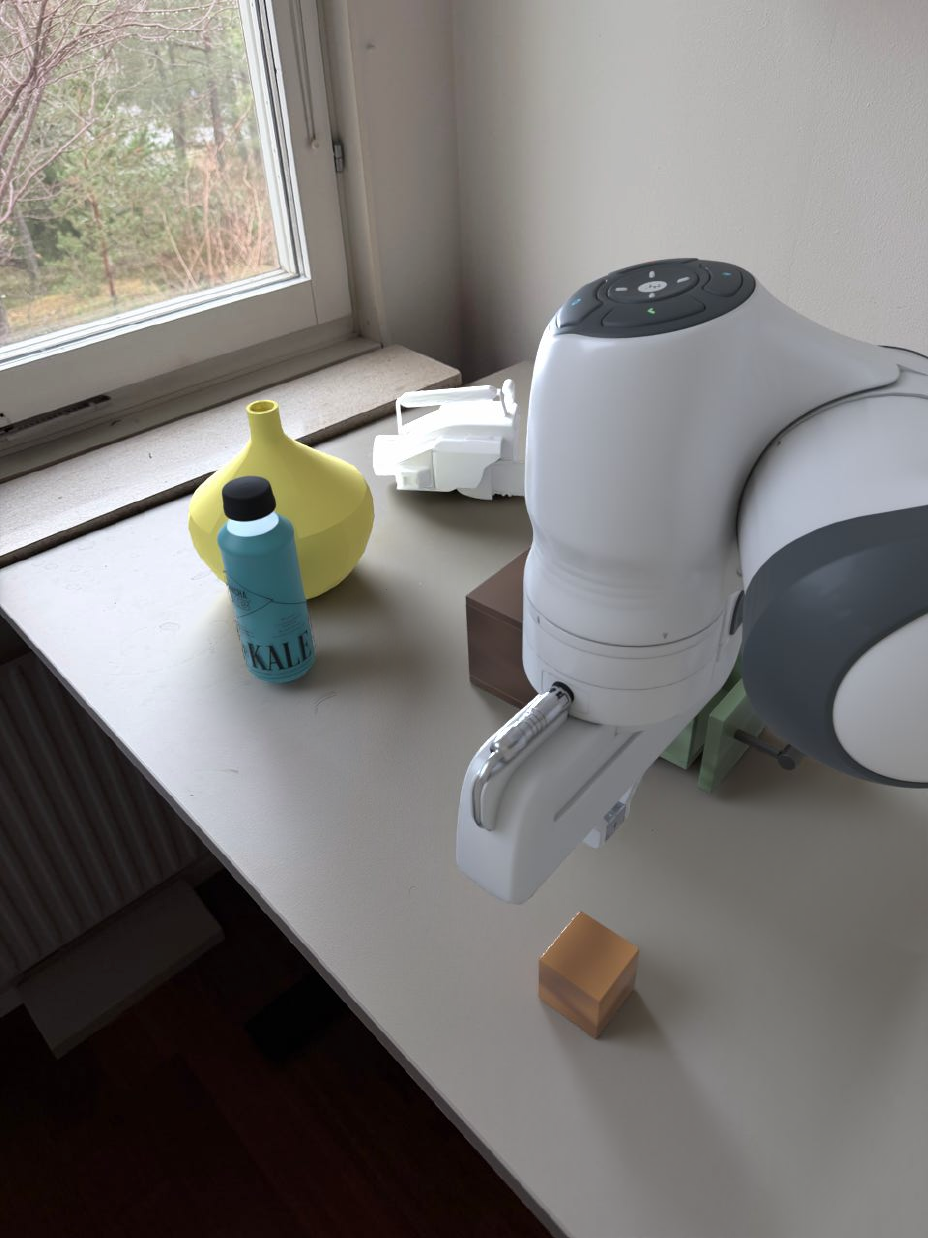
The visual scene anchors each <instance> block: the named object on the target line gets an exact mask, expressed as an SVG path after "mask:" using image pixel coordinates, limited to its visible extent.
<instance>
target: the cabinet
mask: <svg viewBox="0 0 928 1238" xmlns="http://www.w3.org/2000/svg"><path fill="white" fill-rule="evenodd" d="M531 546H532V545H530V546H529V547H528V548H526V549H524V550H523V551H522V552H521V553H519V554H518V555H516V557H514V558H513V559H512V560H510V561H509V562H508V563H506V564H505V565H504V566H502V567H500V568H499V570H497V571H496V572H494V573H493V574H491V576H489V577H488V578H487V579H485V580H484V581H483V582H481V583H480V584H478V585H477V586H476V587H474V588H473V589H472V590H470V591H469V592H468V593H467V594H466V595H465V598H464V599H465V619H466V639H467V660H468V675H469V676H468V677H469V678H468V679H469V683H471V684H472V685H474V686H476V687H478V688H480V689H482V690H483V691H485V692H488V693H489V694H491V695H493V696H495V697H497V698H499V699H501V700H502V701H504V702H506V703H508V704H510V705H512V706H513V707H515V708H517V709H520V711H521V710H522V709H523V708H524V707H525V706H526V705H527V704H528V703H529V702H531V701H532V700H533V699H534V698H535V697H536V696H537V695H538V694H539V693H538V692H537V691H536V690H535V689H534V687H533V686H532V685H531V683H530V681H529V680H528V678H527V675H526V673H525V670H524V666H523V596H524V593H523V581H524V568H525V563H526V560H527V556H528V554H529V551H530V549H531Z"/></svg>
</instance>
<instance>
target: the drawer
mask: <svg viewBox="0 0 928 1238" xmlns="http://www.w3.org/2000/svg"><path fill="white" fill-rule="evenodd" d="M741 664H742V642H741V646H740V649H739V652H738V656H737V659H736V662H735V664H734V667H733V669H732V671H731V673H730V675H729V676H728V678H727V680H726V682H725V683H724V685H723V686H722V688H721V689H720V690H719V691H718V692H717V693H716V694H715V695H714V696H713V698H712V699H711V700H710V701H709V702H708V703H707V704H706V705H705V706H704V707H703V709H702V710H701V711H700V712H699V713H698V714H697V715H696V716H695V717H694V718H693V720H692V721H691V722H690V723H689V724H688V725H687V726H686V727H685V728H684V729H683V731H682V732H681V733H680V734H679V735H678V736H677V737H676V738H675V739H674V740H673V742H672V743H671V744H670V745H669V746H668V747H667V748H666V749H665V750H664V751H663V753H662V754H661V755H660V756H659V757H660V758H662V759H664V760H666V761H668V762H670V763H672V764H674V765H675V766H678V767H680V768H681V769H684V770H686V771H687V770H688V769H689V767H690V766H691V765H692V764H693V763H694V762H695V760H696V759H697V758H698V757H699V756H700V755H701V753H702V756H701V757H702V758H701V763H700V764H701V765H700V768H699V769H700V770H699V775H698V780H697V786H696V787H697V789H699V790H701V791H702V792H705V793H707V794H708V795H712V794H713V793H714V792H715V790H716V789H717V787H718V786H719V785H720V783H721V782H722V781H723V780H724V779H725V778H726V777H727V775H728V774H729V773H730V772H731V770H732V769H733V768H734V766H735V765H736V764H737V762H738V761H739V760H740V759H741V758H742V757H743V755H744V754H745V752H746V751H747V750H748V749H749V748H750V747H751V748H753V749H755V750H757V751H759V752H761V753H763V754H765V755H767V756H770V757H772V758H774V759H776V762H777V764H778V766H779V767H781V769H784V770H786V771H793V770H794V769H796V767H797V766H798V764H799V763H800V762H801V761H802V759H803V758H804V756H806V755H805V754H803V753H802V752H800V751H798V750H797V749H796V748H794V747H793V746H792V745H790V744H789V743H788V742H787V743H786V745H785V747H784V748H783V749H782V748H780V747H778V746H776V745H773V744H772V743H769V742H768V741H765V740H763V739H762V738H759V737H758V736H759V735H760V734H761V733H762V731H764V729H765V728H766V726H767V725H766V724H765V723H764V722H763V721H762V719H761V718H760V717H759V716H758V714H757V713H756V711H755V710H754V708H753V707H752V705H751V703H750V701H749V699H748V697H747V694H746V691H745V689H744V685H743V680H742V666H741Z"/></svg>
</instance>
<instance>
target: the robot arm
mask: <svg viewBox="0 0 928 1238" xmlns="http://www.w3.org/2000/svg"><path fill="white" fill-rule="evenodd" d="M530 385H531V386H530V393H529V401H528V412H527V413H528V414H527V424H526V439H525V454H524V455H525V458H524V460H525V498H524V501H525V506H526V511H527V513H528V517H529V520H530V522H531V526H532V532H533V533H532V534H533V536H532V544H531V545H530V546H531V549H530V551H529V554H528V556H527V560H526V563H525V568H524V581H523V593H524V596H523V666H524V670H525V673H526V675H527V678H528V680H529V681H530V683H531V685H532V686H533V687H534V689H535V690H536V691H537V692H538V693H539V694H538V695H537V696H536V697H535V698H534V699H533V700H532V701H531V702H529V703H528V704H527V705H526V706H525V707H524V708H523V709H522V710H521V709H520V711H518V712H517V713H516V714H515V715H514V716H513V717H512V718H510V719H509V720H508V721H507V722H506V723H505V724H504V725H503V726H501V728H499V729H498V730H497V731H496V732H495V733H493V734H492V735H491V736H490V737H489V738H488V739H487V740H486V741H485V742H484V743H483V745H482V746H481V747H480V748H479V749H478V750H477V752H476V753H475V755H474V756H473V758H472V760H471V761H470V763H469V765H468V768H467V770H466V772H465V775H464V779H463V783H462V787H461V792H460V800H459V806H458V816H457V826H456V841H455V842H456V846H455V847H456V848H455V849H456V851H455V859H456V864H457V867H458V869H459V870H460V872H461V873H462V874H463V875H464V876H465V877H466V878H467V879H468V880H470V881H471V882H472V883H473V884H475V885H476V886H477V887H479V888H480V889H482V890H483V891H485V892H486V893H488V894H489V895H491V896H492V897H494V898H496V899H497V900H499V901H501V902H503V903H506V904H510V905H523V904H525V903H527V902H528V901H529V900H530V899H531V898H532V897H533V896H534V895H535V894H536V892H537V891H538V890H539V889H540V888H541V887H542V886H543V885H544V883H545V882H547V880H548V879H549V878H550V877H551V876H552V875H553V873H555V871H556V870H557V869H558V868H559V867H560V866H561V865H562V864H563V863H564V862H565V860H566V859H568V857H569V856H570V855H571V854H572V852H574V851H575V849H576V848H577V847H578V846H580V844H581V843H583V844H585V845H586V846H588V847H590V848H591V849H593V850H597V851H598V850H600V849H601V848H602V846H603V845H605V843H606V842H607V841H608V840H609V839H610V838H611V837H612V836H613V834H614V833H615V831H616V830H618V828H619V827H620V826H621V825H622V824H623V823H624V822H625V821H626V819H628V817H630V812H631V805H632V798H634V795H635V793H636V791H637V789H638V787H639V785H640V783H641V781H642V779H643V776H644V774H645V773H646V772H647V770H648V769H649V768H650V767H651V766H652V765H653V764H654V763H655V761H657V759H658V758H659V757H660V755H661V754H662V753H663V751H664V750H665V749H666V748H667V747H668V746H669V745H670V744H671V743H672V742H673V740H674V739H675V738H676V737H677V736H678V735H679V734H680V733H681V732H682V731H683V729H684V728H685V727H686V726H687V725H688V724H689V723H690V722H691V721H692V720H693V718H694V717H695V716H696V715H697V714H698V713H699V712H700V711H701V710H702V709H703V707H704V706H705V705H706V704H707V703H708V702H709V701H710V700H711V699H712V698H713V696H714V695H715V694H716V693H717V692H718V691H719V690H720V689H721V688H722V686H723V685H724V683H725V682H726V680H727V678H728V676H729V675H730V673H731V671H732V669H733V667H734V664H735V662H736V659H737V656H738V652H739V649H740V646H741V642H742V664H741V666H742V680H743V685H744V689H745V691H746V694H747V697H748V699H749V701H750V703H751V705H752V707H753V708H754V710H755V711H756V713H757V714H758V716H759V717H760V718H761V719H762V721H763V722H764V723H765V724H766V726H767V727H768V728H769V730H771V731H772V732H773V733H775V735H777V737H779V738H781V739H782V740H783V741H785V742H786V743H787V744H788V743H789V744H790V745H792V746H793V747H794V748H796V749H797V750H798V751H800V752H802V753H803V754H805V755H804V756H806V757H808V758H810V759H812V760H814V761H816V762H817V763H819V764H821V765H823V766H825V767H828V768H829V769H832V770H834V771H837V772H839V773H842V774H843V775H847V776H849V777H853V778H856V779H859V780H863V781H865V782H870V783H874V784H878V785H883V786H888V787H894V788H902V789H918V790H919V789H921V790H922V789H927V790H928V355H925V354H923V353H920V352H918V351H914V350H911V349H908V348H905V347H904V348H903V347H898V346H892V345H879V344H877V345H876V344H873V343H869V342H866V341H863V340H859V339H856V338H853V337H850V336H848V335H845V334H842V333H840V332H837V331H835V330H833V329H830V328H828V327H826V326H824V325H822V324H820V323H817V322H816V321H814V320H812V319H810V318H808V317H806V316H805V315H803V314H801V313H799V312H798V311H796V310H795V309H793V308H791V307H789V306H788V305H787V304H785V303H784V302H782V301H781V300H780V299H779V298H777V297H776V296H775V295H773V294H772V293H771V291H769V290H768V289H767V288H766V287H765V286H764V285H763V283H762V282H761V281H760V280H759V279H758V278H757V276H756V275H754V274H753V273H752V272H750V271H749V270H746V269H745V268H744V267H741V266H739V265H736V264H733V263H729V262H724V261H718V260H710V259H709V260H708V259H700V258H697V257H677V258H666V259H658V260H657V259H656V260H652V261H647V262H641V263H637V264H633V265H630V266H626V267H622V268H619V269H616V270H613V271H610V272H609V273H607V274H606V275H604V276H602V277H599V278H597V279H595V280H593V281H591V282H589V283H588V282H587V283H586V284H583V286H581V287H579V289H578V290H576V291H575V292H574V293H573V294H572V295H571V296H569V297H568V299H566V300H565V302H564V303H563V304H562V305H560V307H559V308H558V309H557V310H556V311H555V313H554V315H553V316H552V318H551V319H550V320H549V323H548V325H547V326H546V328H545V330H544V332H543V335H542V338H541V339H540V343H539V346H538V350H537V353H536V356H535V362H534V365H533V372H532V378H531V384H530Z"/></svg>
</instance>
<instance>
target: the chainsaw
mask: <svg viewBox="0 0 928 1238" xmlns="http://www.w3.org/2000/svg"><path fill="white" fill-rule="evenodd" d="M497 396H498V398H499V400H494V399H495V398H496V397H497ZM401 406H402V407H404V408H417V407H428V406H429V407H431V406H440V407H439V409H438V410H435V411H433V412H431V413H428V414H425V415H423V416H422V417H419V418H417V419H415V420H412V421H410V422H409V423H406V424H404V425H403V423H402V412H401V411H402V410H401ZM395 412H396V421H397V431H398V435H381V434H379V435H377V436H376V437H375V440H374V444H373V450H372V463H373V470H374V474H375V475H376V476H384V477H385V476H395V481H396V483H397V486H396V490H398V491H422V492H423V491H424V492H447V493H450V492H452V491H454V490H457V491H458V493H460V494H462V495H463V496H465V497H469V498H472V499H477V500H478V499H479V500H485V501H493V496H495V494H497V495H501V496H502V497H505V496H506V495H507V497H512V496H515V497H516V496H519V497H523V498H524V499H525V459H523V460H522V459H521V460H520V422H521V412H520V406H519V404H518V403H516V384H515V381H514V380H513V379H506V380H505V381H504V383H503V385H502V389H501V388H496V387H495V386H493V385H491V384H490V385H488V384H487V385H478V386H474V385H471V386H465V387H456V388H455V387H453V388H442V389H431V390H419V391H408V392H407V391H406V392H405V393H404V394H403V395H402V396H401V397H398V398H397V400H396V401H395Z"/></svg>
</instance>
